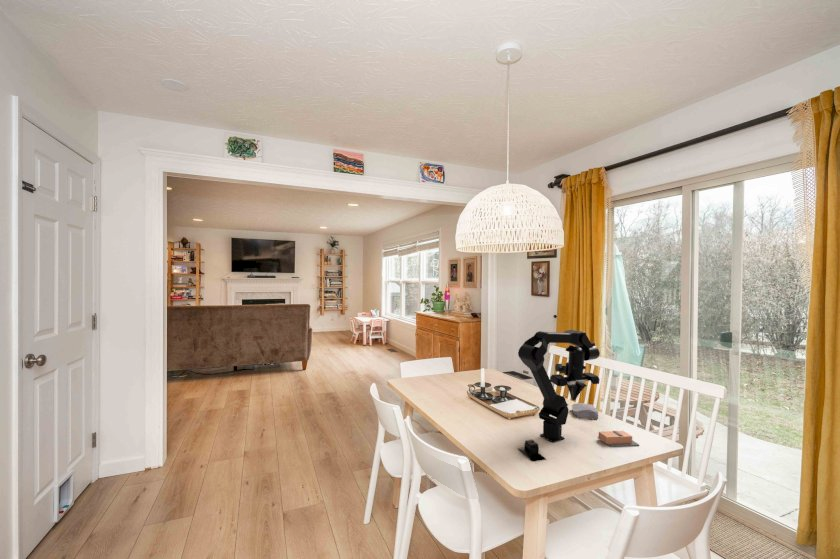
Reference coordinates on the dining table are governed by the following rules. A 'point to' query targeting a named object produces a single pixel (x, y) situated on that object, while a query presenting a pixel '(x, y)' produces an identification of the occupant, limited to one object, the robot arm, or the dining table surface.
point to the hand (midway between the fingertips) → (573, 399)
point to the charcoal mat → (623, 444)
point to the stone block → (585, 411)
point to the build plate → (531, 451)
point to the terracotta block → (615, 437)
